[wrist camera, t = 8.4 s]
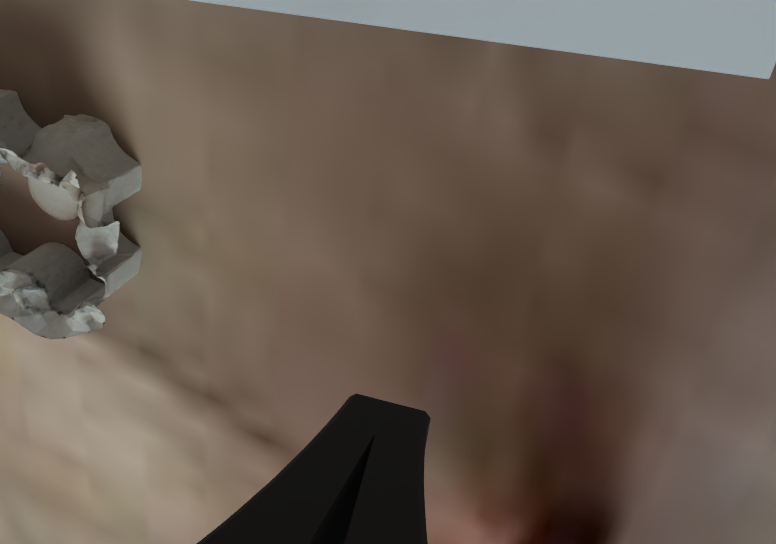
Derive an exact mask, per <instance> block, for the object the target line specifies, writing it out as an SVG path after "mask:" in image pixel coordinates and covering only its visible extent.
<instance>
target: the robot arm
mask: <svg viewBox="0 0 776 544" xmlns="http://www.w3.org/2000/svg"><path fill="white" fill-rule="evenodd" d="M429 424H430V417H429V416H428V414H427V413H426V412H425V411H422V410H418V409H414V408H410V407H406V406H402V405H398V404H395V403H391V402H387V401H383V400H379V399H375V398H371V397H367V396H363V395H359V394H355V395H353V396H351V397H349V398H348V400H347V401H346V402H345V403H344V405H343V406H342V407H341V408H340V410H339V411H338V412H337V413H336V414H335V415H334V417H333V418H332V419H331V420H330V421H329V422H328V423H327V425H326V426H325V427H324V428H323V429H322V430H321V431H320V432H319V433H318V434H317V435H316V436H315V438H314V439H313V440H312V441H311V442H310V443H309V444H308V445H307V446H306V447H305V448H304V449H303V450H302V451H301V452H300V453H299V454H298V455H297V456H296V457H295V458H294V459H293V460H292V461H291V462H290V463H289V464H288V465H287V466H286V467H285V468H284V469H283V470H282V471H281V472H280V473H279V474H278V475H277V476H276V477H275V478H273V479H272V480H271V481H270V482H269V483H268V484H267V485H266V486H265V487H264V488H262V489H261V490H260V491H259V492H258V493H257V494H256V495H255V496H253V497H252V498H251V499H250V500H249V501H248V502H247V503H245V504H244V505H243V506H242V507H241V508H240V509H239V510H237V511H236V512H235V513H234V514H233V515H232V516H231V517H229V518H228V519H227V520H226V521H225V522H223V523H222V524H221V525H220V526H218V527H217V528H216V529H215V530H213V531H212V532H211V533H210V534H208V535H207V536H206V537H205V538H203V539H202V540H201V541H200V542H198V543H197V544H428V543H427V533H426V518H425V501H424V455H425V446H426V441H427V435H428V429H429Z"/></svg>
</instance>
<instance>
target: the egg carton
mask: <svg viewBox="0 0 776 544" xmlns="http://www.w3.org/2000/svg"><path fill="white" fill-rule="evenodd" d="M6 163H9V164H10V166H11V167H12V168H13V170H15V171H18V172H19V173H20V174H21V175H23V176H25V177H28V178H27V182H28V187H29V190H30V193H31V196H32V198H33V199H34V201H35V202H36V203H37V204H38V205H39V207H40V208H41V209H42V210H43V211H45V212H47V213H48V214H50V215H51V216H53V217H54V218H56V219H58V220H63V221H66V220H72V219H74V218H76V217H78V216H79V218H80V221H79V224H78V226H77V230H76V235H75V239H76V240H77V245H78V248H79V250H80V252H81V254H82V256H83V257H84V258H86V260H87V261H88V262H89V264H90V265H88V266H86V264H85V263H84V261H83V260H82V259H81V257H80V256H79V255H78V254H77V253H76V252H74V251H73V250H72V249H70V248H69V247H67V246H65V245H63V244H60V243H56V242H48V243H45V244H43V245H41V246H40V247H38V248H36V249H35V250H33V251H32V252H30V253H29V254H27V255H25V256H23V255H21V254H18V253H15V252H13V251H12V249H11V246H10V243H9V241H8V239H7V237H6V236H5V234H4V233H3V232H2V231H1V229H0V313H2V314H4V315H6V316H8V317H10V318H11V319H13V320H14V321H16V322H17V323H19V324H20V325H22V326H23V327H25V328H26V329H28V330H29V331H31V332H32V333H34V334H35V335H38V336H42V337H45V338H49V339H60V338H67V337H71V336H75V335H80V334H84V333H88V332H92V331H96V330H99V329H102V327H103V325H104V323H105V317H104V315H103V314H102V313H101V311H100V310H98V309H96V308H97V306H98V305H99V304H100V303H101V302H103V301H104V299H105V297H108V296H110V294H111V293H113V292H114V291H115V290H117V289H118V288H120V287H121V286H122V285H124V284H125V283H126V282H127V281H128V280H129V279H130V278H132V277H133V276H134V275H136V274H137V272H138V271H139V269H140V266H141V256H142V251H141V248H140V247H139V246H137V245H135V244H133V243H132V242H131V241H129V240H128V239H127V238H126V237H125V236H124V235H123V234H122V233H121V232H120V230H119V227H120V223H119V221H115V220H114V216H113V210H112V208H113V207H114V206H115V205H117V204H118V203H119V202H121V201H122V200H124V199H126V198H128V197H130V196H131V195H132V194H134V193H135V192H137V191H139V190H140V189H141V174H142V168H141V164H140V163H138V162H137V161H135V160H134V159H132V158H131V157H130V156H128V155H127V154H126V153H124V151H123V150H122V149H121V148H120V147H119V146H118V144H117V143H116V141H115V140H114V138H113V136H112V133H111V130H110V127H109V125H108V124H106V123H105V122H104V121H102V120H101V119H98V118H95V117H92V116H88V115H84V114H79V115H76V116H72V115H64V118H63V119H61V120H60V121H58V122H57V123H54V124H50V125H48V126H46V127H44V128H41V127H39V126H38V125H37V124H36V123H35V122H34V121H33V120H32V119H31V118H30V117H29V116H28V114H27V113H26V112H25V110H24V109H23V106H22V104H21V102H20V100H19V97H18V93H17V92H15V91H11V90H2V89H0V164H6ZM1 178H2V174H1V169H0V184H1ZM87 267H88V268H89V269H90V270H91V271H92V272H93V274H95V275H96V276H97V277H98V278H100V279H102V280H103V281H104V282H105V284H103V283H100V282H97V281H95V280H93V279H91V278H90V274H89V271H88V268H87Z"/></svg>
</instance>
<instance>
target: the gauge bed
mask: <svg viewBox="0 0 776 544" xmlns="http://www.w3.org/2000/svg"><path fill="white" fill-rule="evenodd" d="M191 1H199V2H206V3H213V4H221V5H228V6H235V7H243V8H250V9H257V10H265V11H272V12H279V13H287V14H294V15H301V16H309V17H316V18H323V19H331V20H338V21H345V22H353V23H360V24H367V25H375V26H382V27H389V28H397V29H404V30H411V31H419V32H426V33H433V34H441V35H448V36H455V37H463V38H470V39H477V40H485V41H492V42H499V43H507V44H514V45H521V46H529V47H536V48H543V49H551V50H558V51H565V52H573V53H580V54H587V55H595V56H602V57H609V58H617V59H624V60H631V61H639V62H646V63H653V64H661V65H668V66H675V67H683V68H690V69H697V70H705V71H712V72H719V73H727V74H734V75H742V76H749V77H756V78H764V79H769V78H770V75H771V73H772V70H773V68H774V65H775V63H776V0H191Z"/></svg>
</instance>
